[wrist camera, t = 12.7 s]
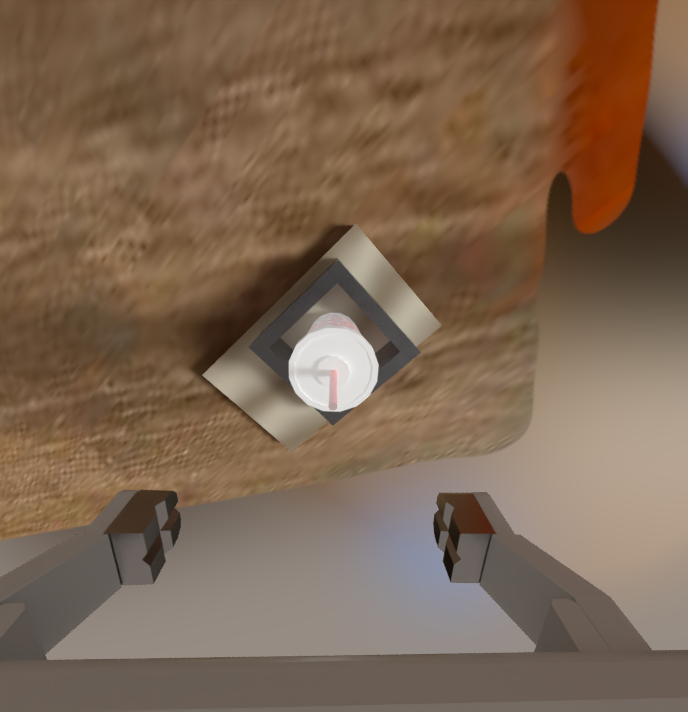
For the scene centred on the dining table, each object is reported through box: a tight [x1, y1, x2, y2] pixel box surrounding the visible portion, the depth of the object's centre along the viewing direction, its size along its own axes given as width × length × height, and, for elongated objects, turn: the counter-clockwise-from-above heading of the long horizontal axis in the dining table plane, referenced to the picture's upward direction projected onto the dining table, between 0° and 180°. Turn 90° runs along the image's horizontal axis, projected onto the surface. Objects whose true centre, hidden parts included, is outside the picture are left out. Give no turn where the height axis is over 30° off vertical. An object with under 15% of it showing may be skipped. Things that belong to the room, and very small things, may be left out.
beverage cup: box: [289, 313, 379, 412], centre depth 24 cm, size 6×6×14 cm
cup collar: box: [249, 259, 421, 425], centre depth 28 cm, size 10×10×4 cm
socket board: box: [202, 224, 442, 452], centre depth 32 cm, size 12×20×2 cm, turn 133°
